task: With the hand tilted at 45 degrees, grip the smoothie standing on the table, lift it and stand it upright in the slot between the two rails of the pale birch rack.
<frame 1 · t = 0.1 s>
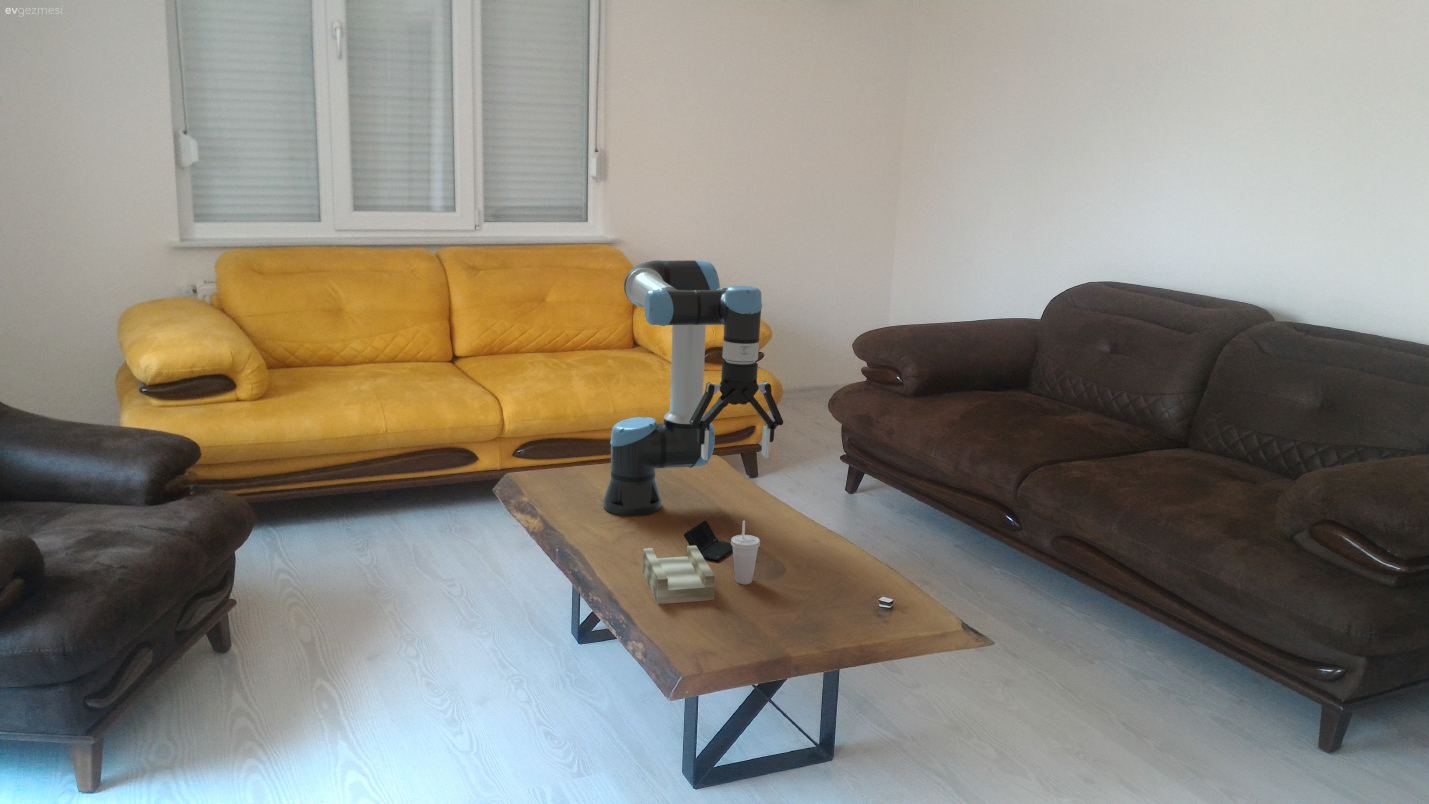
hand: (734, 457, 219), 28 cm above the table, tool pointing down, fingers open, 13 cm apart
rack: (677, 585, 221), on the table
smoothie: (743, 581, 225), on the table
handheld gaming console: (710, 552, 241), on the table
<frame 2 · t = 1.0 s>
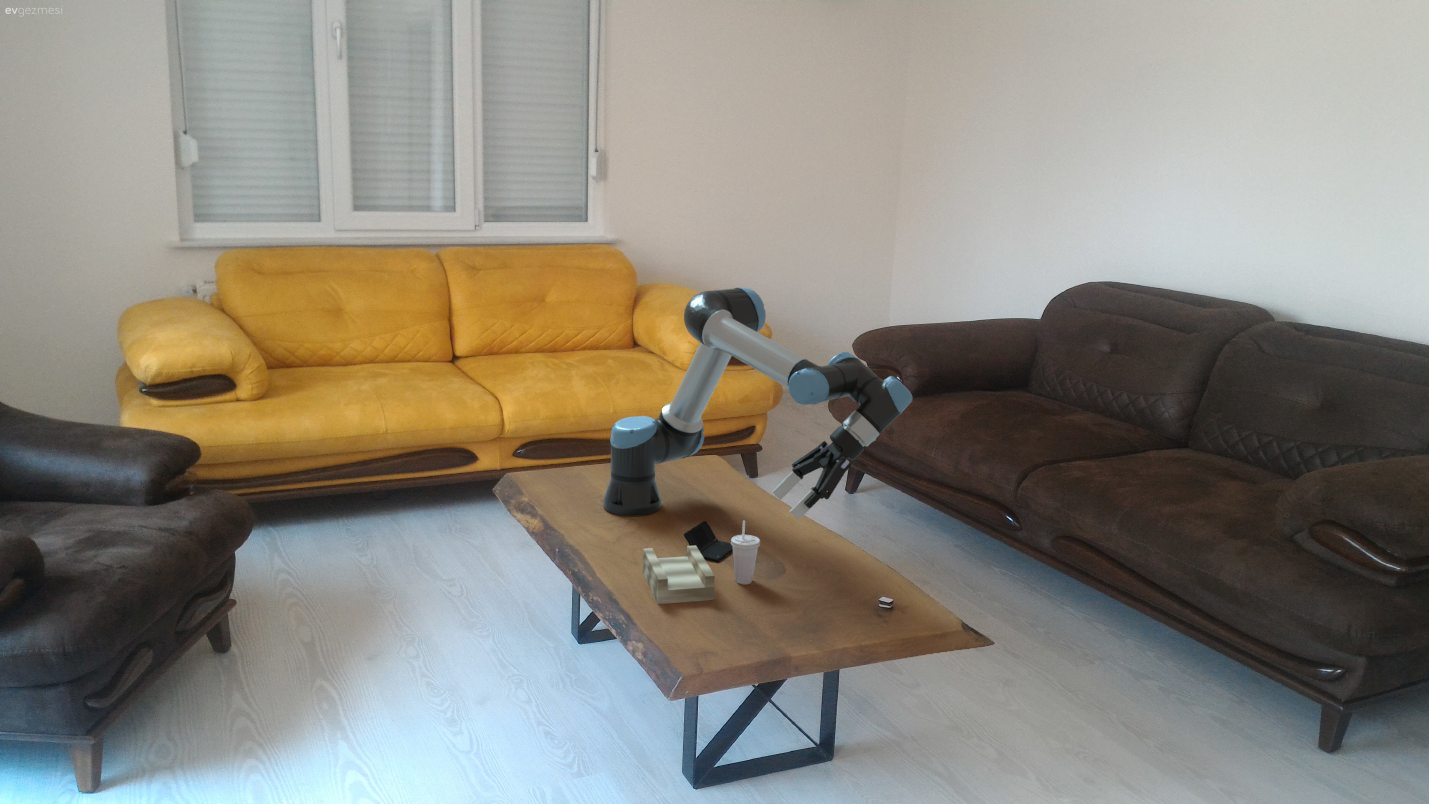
hand: (784, 505, 222), 17 cm above the table, tool tilted 45°, fingers open, 13 cm apart
nothing on the table moved.
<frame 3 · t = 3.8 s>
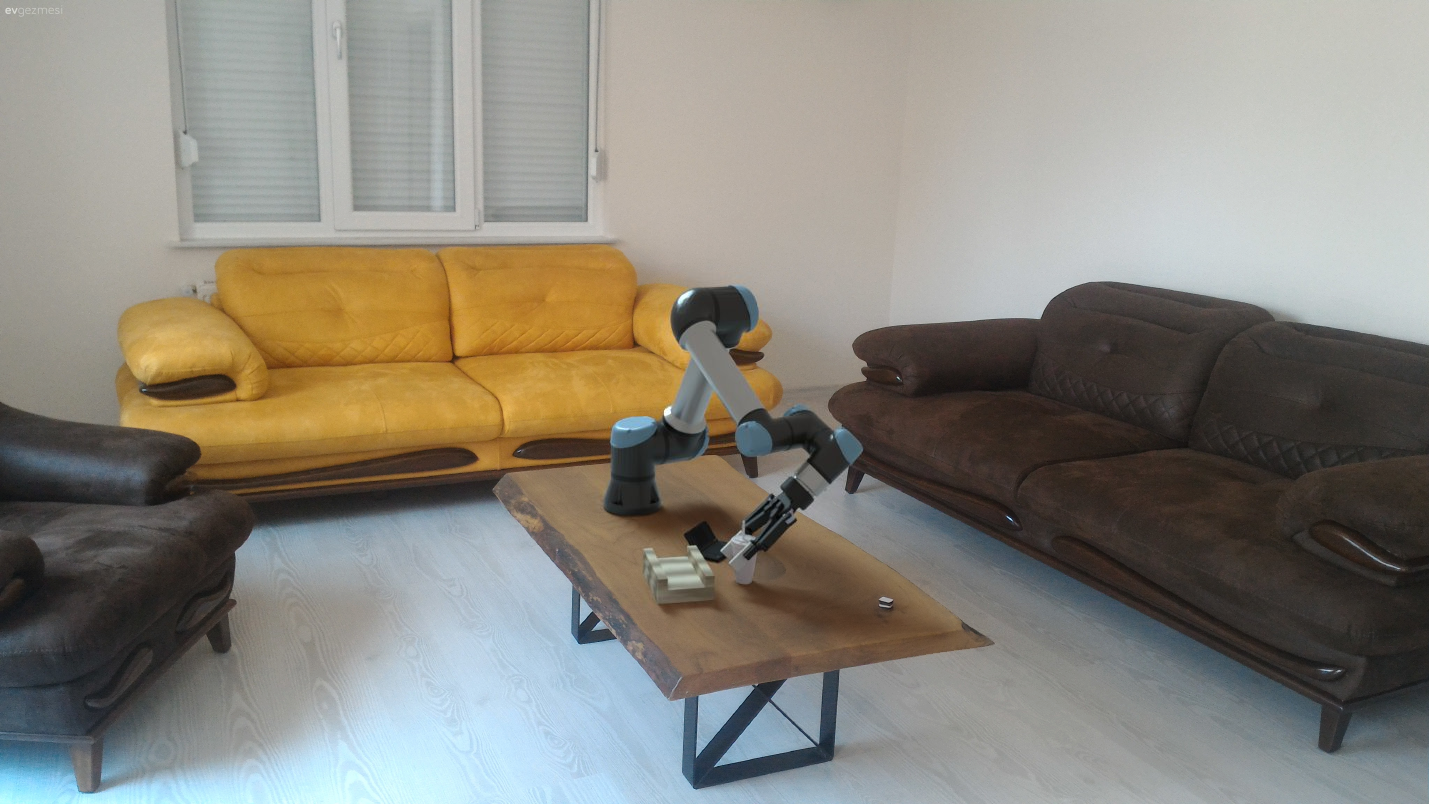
hand: (728, 560, 223), 5 cm above the table, tool tilted 45°, fingers closed on smoothie, 6 cm apart
smoothie: (743, 581, 225), on the table, touching gripper
everything else where it was.
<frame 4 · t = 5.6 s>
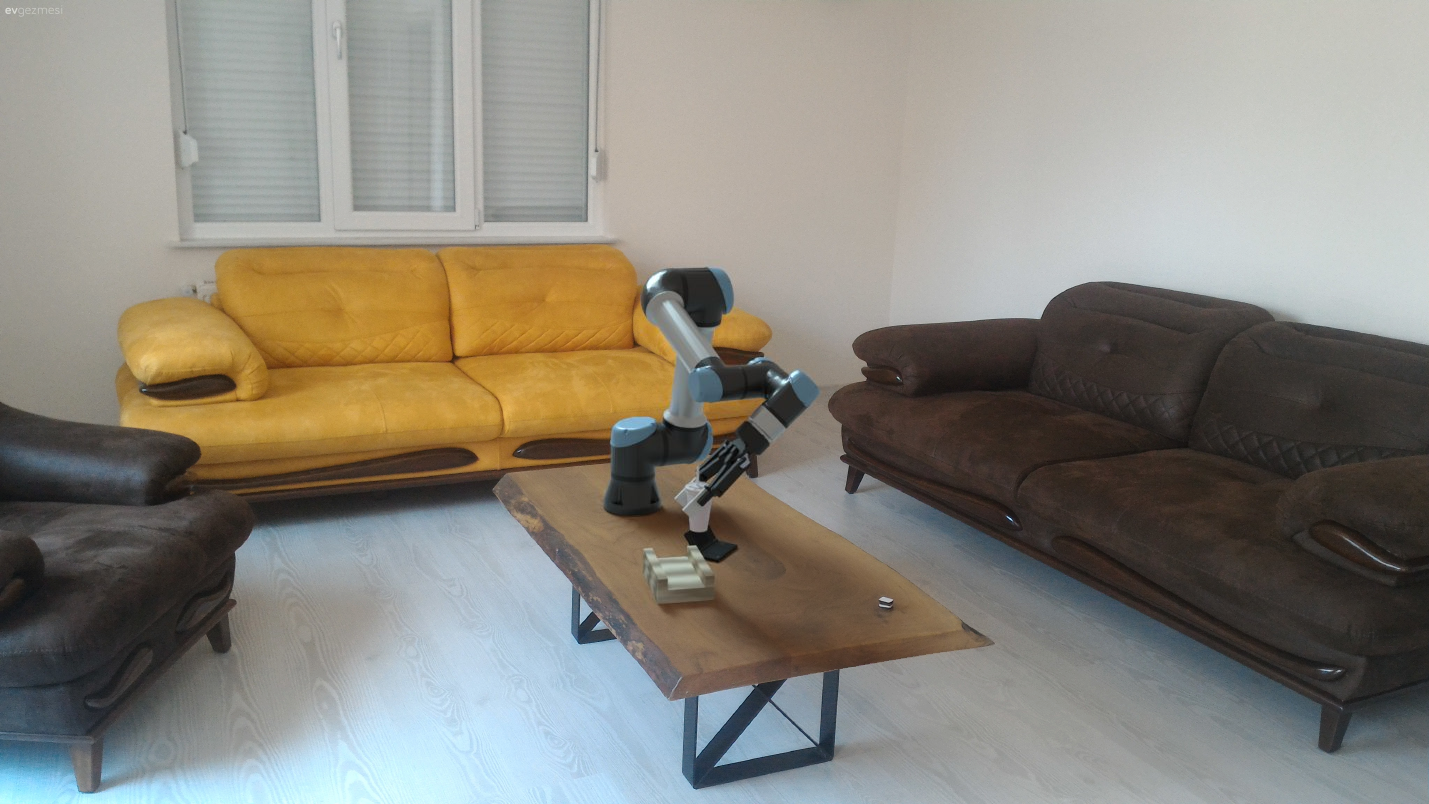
hand: (682, 508, 216), 18 cm above the table, tool tilted 45°, fingers closed on smoothie, 6 cm apart
smoothie: (698, 529, 218), point 13 cm above the table, touching gripper
everything else where it was.
when the fingers open (9 cm above the table, at t = 7.9 s): smoothie drops 1 cm, resting on rack.
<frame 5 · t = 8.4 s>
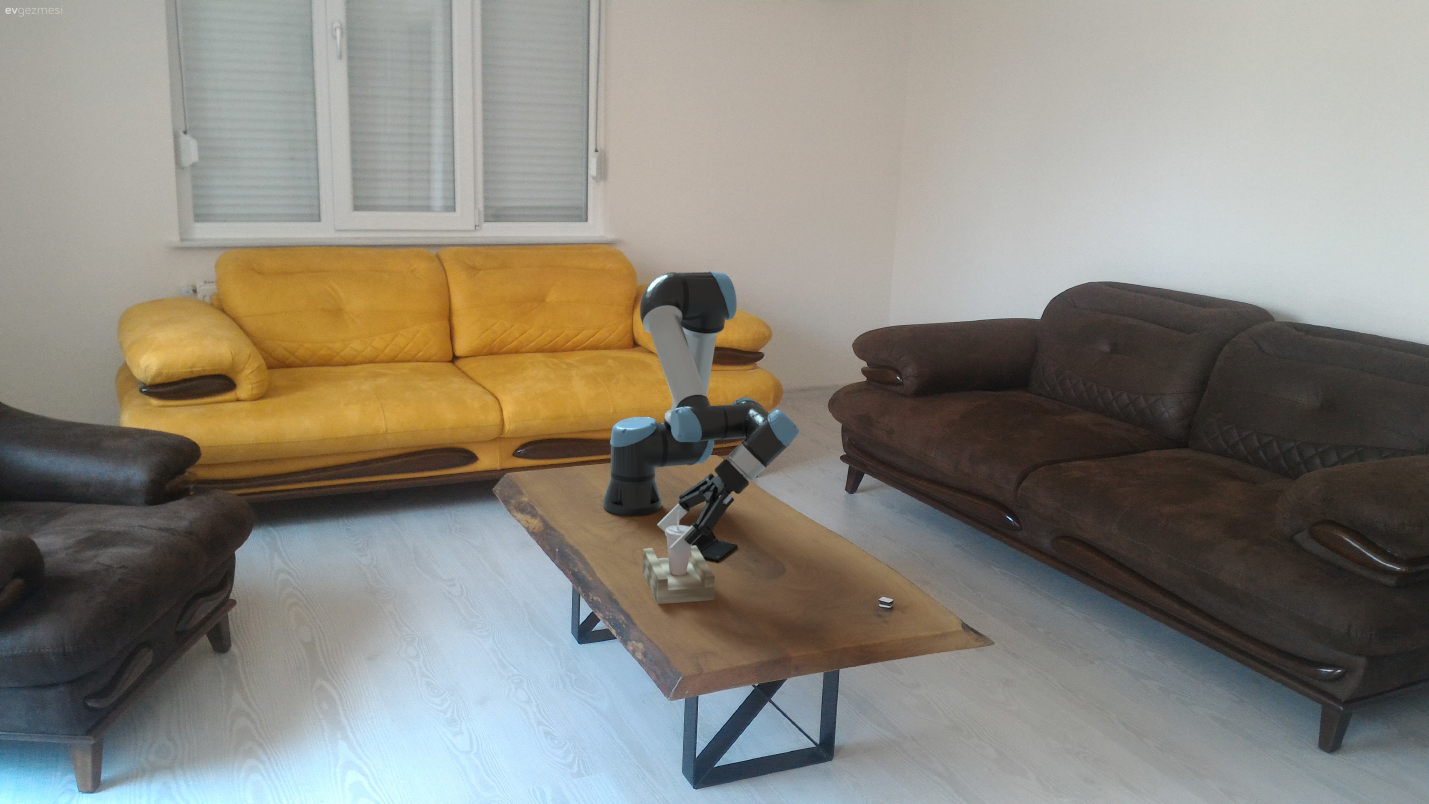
hand: (667, 540, 218), 11 cm above the table, tool tilted 45°, fingers open, 13 cm apart
smoothie: (677, 572, 220), point 3 cm above the table, touching rack
everything else where it was.
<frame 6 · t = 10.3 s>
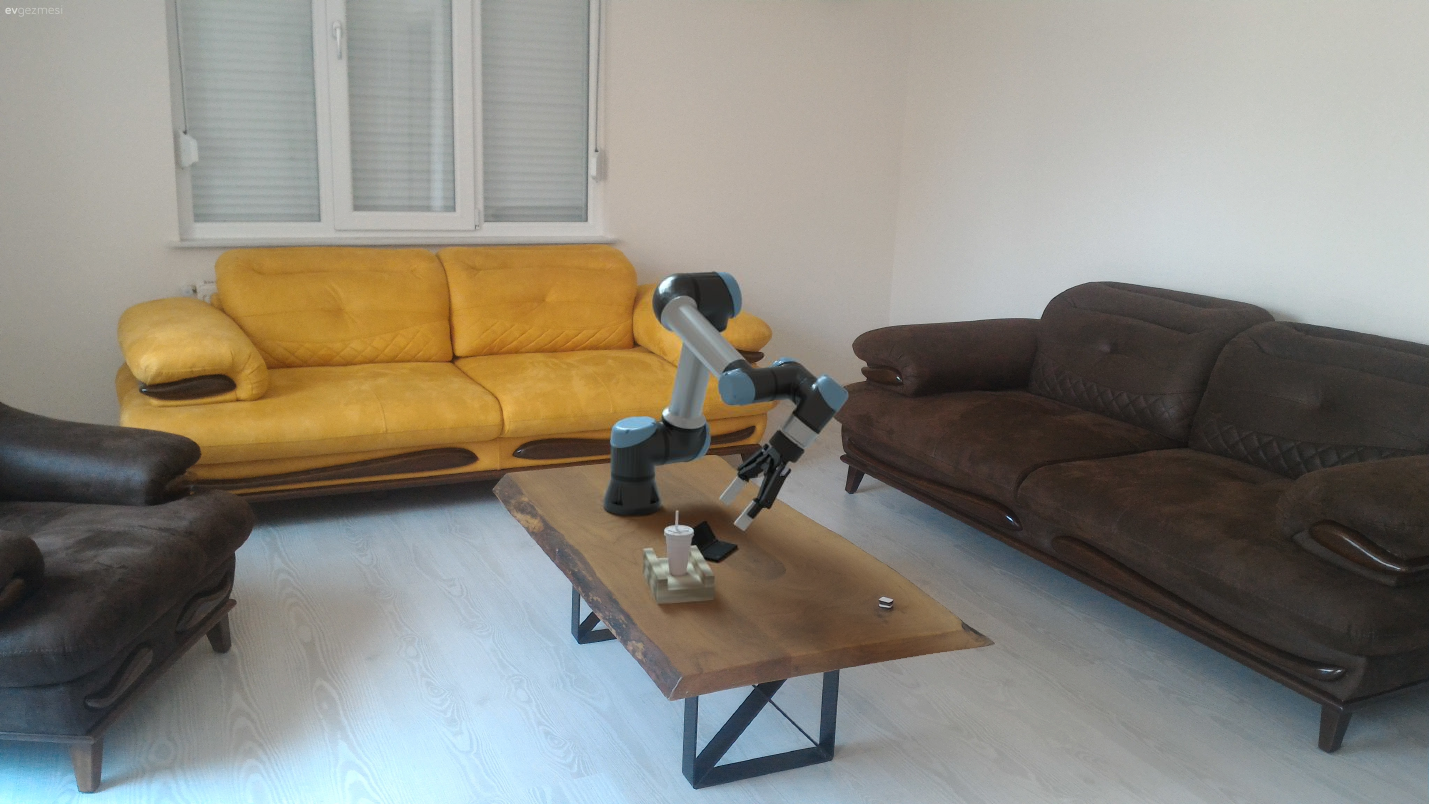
hand: (730, 514, 222), 15 cm above the table, tool tilted 35°, fingers open, 13 cm apart
nothing on the table moved.
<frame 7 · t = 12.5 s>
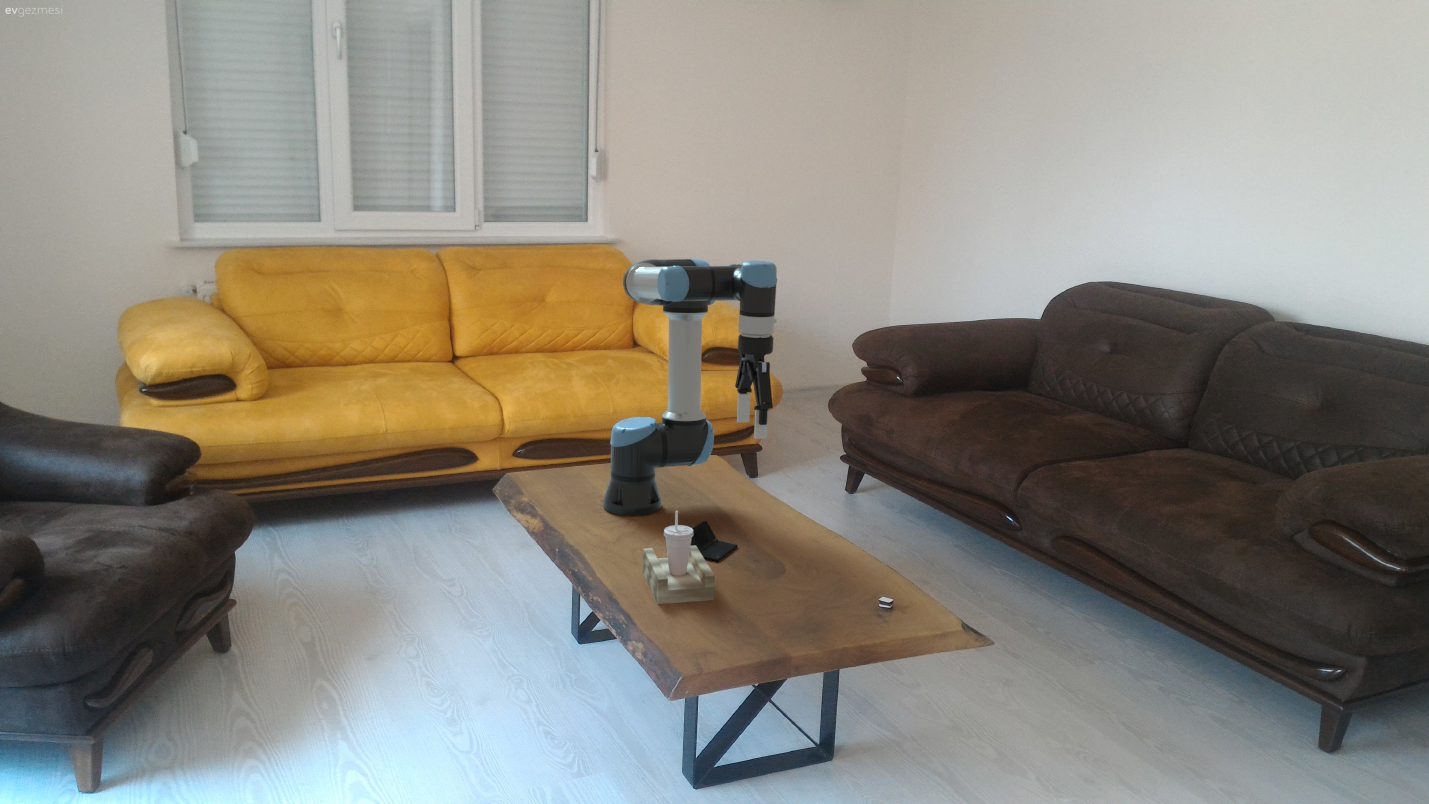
hand: (751, 430, 223), 33 cm above the table, tool pointing down, fingers open, 13 cm apart
nothing on the table moved.
at the end: smoothie inside the target area on the rack (0.1 cm from its centre), point 2.8 cm above the rack's base; smoothie tilted 0°; the gripper is holding nothing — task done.
